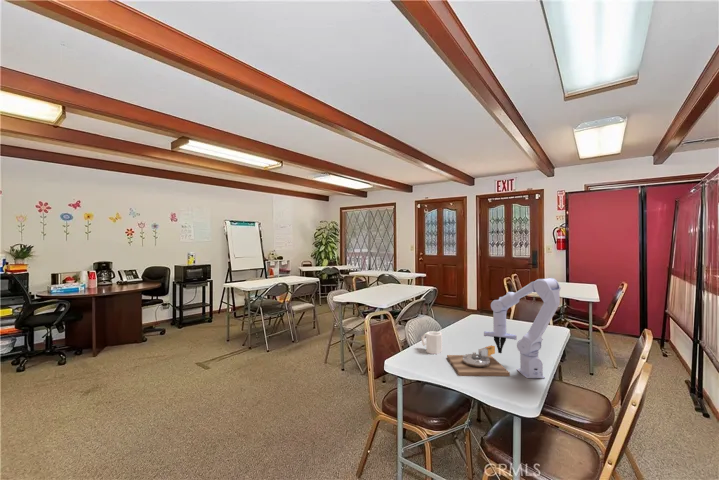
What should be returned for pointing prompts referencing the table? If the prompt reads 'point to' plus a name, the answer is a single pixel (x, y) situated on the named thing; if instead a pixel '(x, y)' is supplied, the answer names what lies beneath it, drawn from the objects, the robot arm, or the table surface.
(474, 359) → the silver orange handled piece
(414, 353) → the table surface
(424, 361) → the table surface
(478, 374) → the base plate
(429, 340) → the mug
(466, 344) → the table surface
